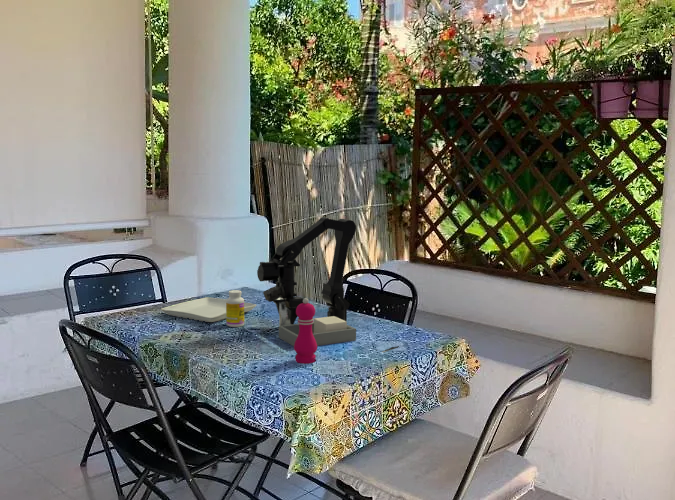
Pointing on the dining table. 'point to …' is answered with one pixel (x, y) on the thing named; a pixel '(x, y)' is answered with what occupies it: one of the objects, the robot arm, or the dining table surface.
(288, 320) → the tin
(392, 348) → the butter knife
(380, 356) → the dining table surface
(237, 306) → the supplement bottle
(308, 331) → the pepper mill
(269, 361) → the dining table surface
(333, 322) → the cream hollow cover
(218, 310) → the square plate
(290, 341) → the tote
